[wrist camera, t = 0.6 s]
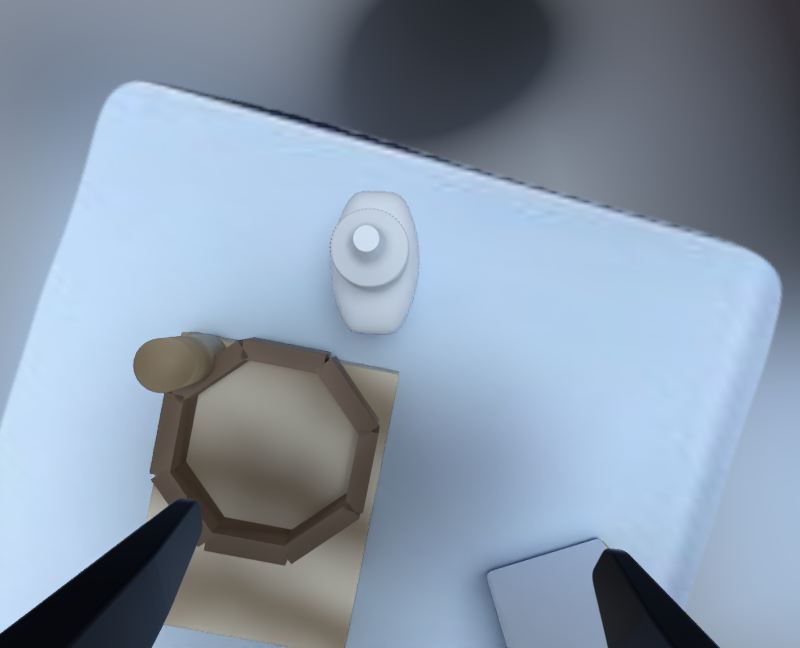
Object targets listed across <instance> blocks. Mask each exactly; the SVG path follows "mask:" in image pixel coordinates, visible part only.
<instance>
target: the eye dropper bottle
mask: <svg viewBox="0 0 800 648" xmlns="http://www.w3.org/2000/svg"><path fill="white" fill-rule="evenodd" d="M335 229H336V230H334V231H333V232H334V234H332V238H331V240H332V241H331V242H330V244H331V246H330V248H331V250H330V252H331V255H330V256H331V279H332V286H333V291H334V296H335V299H336V303H337V306H338V309H339V312H340V314H341V317H342V319H343V321H344V323H345V325H346V326H347V327H348V328H349V329H350V330H351V331H353V332H356V333H362V334H392V333H395V332H396V331H397V330H399V329H400V328H401V326H402V324H403V323H404V321H405V319H406V317H407V315H408V312H409V310H410V307H411V305H412V301H413V298H414V295H415V291H416V286H417V281H418V274H419V245H418V238H417V232H416V228H415V224H414V221H413V218H412V215H411V212H410V210H409V207H408V205H407V203H406V201H405V200H404V199H403V198H402V197H401V196H400V195H398V194H396V193H393V192H383V191H361V192H358V193H355V194H354V195H353V196H352V197H351V198H350V199H349V201H348V203H347V204H346V206H345V208H344V210H343V212H342V214H341V217H340V219H339V222H338V224H337V227H335Z"/></svg>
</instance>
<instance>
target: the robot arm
mask: <svg viewBox="0 0 800 648" xmlns="http://www.w3.org/2000/svg"><path fill="white" fill-rule="evenodd" d="M202 528H203V523H202V516H201V509H200V504H199V502H198V501H197V500H195V499H187V498H180V499H177V500H175V501H174V502H172V503H171V504H170V505H168V506H167V507H166V508H165V509H163V510H162V511H161V512H159V513H158V514H157V515H155V516H154V517H153V518H151V519H150V520H149V521H147V522H146V523H145V524H144V525H142V526H141V527H140V528H138V529H137V530H136V531H134V532H133V533H132V534H130V535H129V536H128V537H126V538H125V539H124V540H123V541H121V542H120V543H119V544H117V545H116V546H115V547H113V548H112V549H111V550H109V551H108V552H107V553H105V554H104V555H103V556H102V557H100V558H99V559H98V560H96V561H95V562H94V563H92V564H91V565H90V566H88V567H87V568H86V569H84V570H83V571H82V572H81V573H79V574H78V575H77V576H75V577H74V578H73V579H71V580H70V581H69V582H67V583H66V584H65V585H63V586H62V587H61V588H60V589H58V590H57V591H56V592H54V593H53V594H52V595H50V596H49V597H48V598H46V599H45V600H44V601H42V602H41V603H40V604H39V605H37V606H36V607H35V608H33V609H32V610H31V611H29V612H28V613H27V614H25V615H24V616H23V617H21V618H20V619H19V620H18V621H16V622H15V623H14V624H12V625H11V626H10V627H8V628H7V629H6V630H4V631H3V632H2V633H0V648H152V646H153V644H154V642H155V640H156V638H157V636H158V634H159V632H160V630H161V628H162V626H163V624H164V622H165V620H166V618H167V616H168V614H169V612H170V610H171V607H172V605H173V603H174V600H175V598H176V595H177V593H178V590H179V588H180V585H181V583H182V580H183V578H184V576H185V573H186V571H187V568H188V566H189V563H190V561H191V558H192V556H193V553H194V551H195V548H196V546H197V543H198V541H199V539H200V536H201V533H202ZM592 581H593V586H594V590H595V595H596V599H597V603H598V608H599V612H600V616H601V621H602V625H603V629H604V634H605V638H606V642H607V646H608V648H720V647H719V646H718V645H717V644H716V643H715V642H714V641H713V640H712V639H711V638H710V637H709V636H708V635H707V634H706V633H705V632H704V631H703V630H702V629H701V628H700V627H699V626H698V625H697V624H696V623H695V622H694V621H693V620H692V619H691V618H690V617H689V616H688V614H687V613H686V612H685V611H684V610H683V609H682V608H681V607H680V606H679V605H678V604H677V603H676V602H675V601H674V600H673V599H672V598H671V597H670V596H669V595H668V594H667V593H666V592H665V591H664V590H663V589H662V588H661V587H660V586H659V585H658V583H657V582H656V581H655V580H654V579H653V578H652V577H651V576H650V575H649V574H648V573H647V572H646V571H645V570H644V569H643V568H642V567H641V566H640V565H639V564H638V563H637V562H636V561H635V560H634V559H633V558H632V557H631V556H630V555H629V554H628V553H627V552H625V551H623V550H619V549H610V548H607V549H605V550H604V551H603V552H602V554H601V556H600V558H599V559H598V561H597V563H596V565H595V567H594V569H593V572H592Z"/></svg>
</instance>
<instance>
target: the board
mask: <svg viewBox="0 0 800 648" xmlns="http://www.w3.org/2000/svg"><path fill="white" fill-rule="evenodd" d="M330 353H331V352H326V351H321V350H316V349H311V348H306V347H301V346H296V345H290V344H285V343H280V342H275V341H270V340H265V339H260V338H248V339H244V340H233V339H228V338H223V337H218V336H214V335H210V334H202V333H197V332H184V333H182V334H181V336H179V337H168V338H158V339H153V340H150V341H148V342H146V343H145V344H143V345H142V346H141V347H140V348H139V350H138V351H137V353H136V355H135V358H134V363H133V368H134V373H135V376H136V378H137V380H138V381H139V382H140V384H141V385H142V386H143V387H145V388H146V389H148V390H150V391H152V392H157V393H164V398H163V403H162V409H161V414H160V420H159V425H158V430H157V436H156V441H155V446H154V452H153V457H152V462H151V468H150V474H155V477H154V478H153V479H151V481H152V482H153V489H152V495H151V500H150V505H149V511H148V516H147V521H149V520H150V519H151V518H153V517H154V516H155V515H157V514H158V513H159V512H161V511H162V510H163V509H165V508H166V507H167V506H168V505H170V504H171V503H172V502H174V501H175V500H177V499H180V498H187V499H195V500H197V501H198V502H199V504H200V509H201V516H202V523H203V528H202V533H201V536H200V539H199V541H198V543H197V546H196V548H195V551H194V553H193V556H192V558H191V561H190V563H189V566H188V568H187V571H186V573H185V576H184V578H183V580H182V583H181V585H180V588H179V590H178V593H177V595H176V598H175V600H174V603H173V605H172V607H171V610H170V612H169V614H168V616H167V618H166V620H165V622H164V625H169V626H175V627H180V628H186V629H191V630H197V631H202V632H208V633H213V634H219V635H224V636H230V637H236V638H241V639H247V640H252V641H258V642H263V643H269V644H274V645H280V646H285V647H291V648H345V646H346V641H347V636H348V630H349V625H350V620H351V615H352V610H353V605H354V600H355V595H356V590H357V585H358V580H359V575H360V570H361V565H362V560H363V555H364V550H365V545H366V540H367V535H368V529H369V524H370V519H371V514H372V509H373V504H374V499H375V494H376V489H377V484H378V479H379V474H380V469H381V464H382V459H383V454H384V449H385V444H386V439H387V434H388V429H389V423H390V418H391V413H392V408H393V403H394V398H395V393H396V388H397V383H398V378H399V372H397V371H392V370H387V369H382V368H377V367H372V366H367V365H361V364H356V363H351V362H346V361H341V360H338V358H337V357H336V356H335V357H333V358H332V359H331V358H330ZM147 521H146V522H147Z"/></svg>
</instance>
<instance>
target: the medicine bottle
mask: <svg viewBox="0 0 800 648" xmlns="http://www.w3.org/2000/svg"><path fill="white" fill-rule="evenodd" d="M607 548H609V547H608V546H607V545H606V544H605V543H604V542H603V541H601V540H599V539H595V540H591V541H588V542H585V543H581V544H578V545H575V546H571V547H568V548H565V549H562V550H558V551H555V552H552V553H548V554H545V555H542V556H538V557H535V558H532V559H529V560H525V561H522V562H519V563H515V564H512V565H509V566H505V567H502V568H499V569H495V570H492V571H490V572H489V573H488V575H487V581H488V584H489V587H490V591H491V594H492V597H493V601H494V604H495V608H496V611H497V614H498V618H499V621H500V625H501V628H502V631H503V635H504V638H505V641H506V645H507V648H608V646H607V642H606V638H605V634H604V629H603V625H602V621H601V616H600V612H599V608H598V603H597V599H596V595H595V590H594V586H593V581H592V572H593V569H594V567H595V565H596V563H597V561H598V559H599V558H600V556H601V554H602V552H603V551H604V550H605V549H607Z"/></svg>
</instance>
